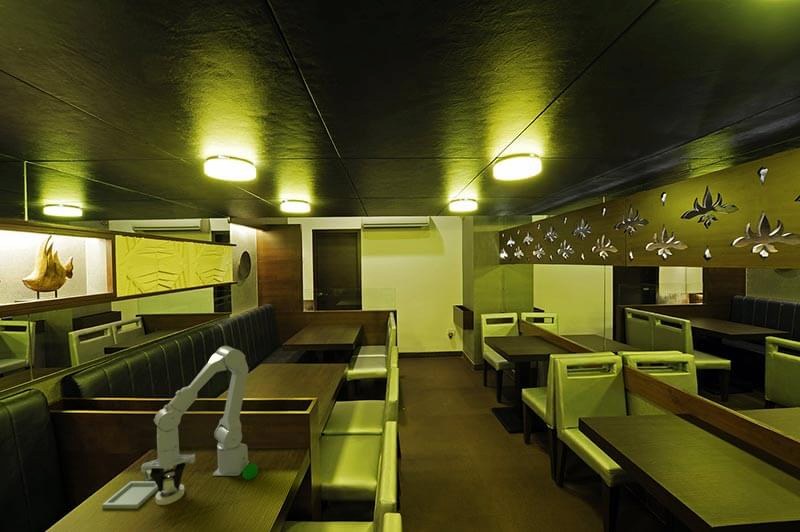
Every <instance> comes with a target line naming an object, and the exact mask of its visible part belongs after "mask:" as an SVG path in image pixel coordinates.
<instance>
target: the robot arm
mask: <svg viewBox="0 0 800 532" xmlns="http://www.w3.org/2000/svg"><path fill="white" fill-rule="evenodd" d="M227 370H229V371H230V372H231V377H230V382H229V387H228V392H227V397H226V402H225V406H224V412H223V416H222V418H220V419H219V423H218V425H217V427H216V429H215V430H214V432H213V433H214V438H215V439H216V441H217V445H216V447H217V449H216V450H217V469H216V470H215V471H214V472H213V474H212V476H213V477H217V476H219V477H221V476H223V477H224V476H226V477H227V476H228V477H229V476H231V477H232V476H236V477H237V476H240V475H241V474H242V471H243V469H244V467H245V466H246V465H248V464H249V463H250V461H249V455H248V454H249V451H248V450H249V449H248V448H249V447H248V445H247V444H246V443H241V442H242V440H243V433H242V423H241V421H240V420H241V419H240V417H241V411H242V406H243V399H244V395H245V390H246V385H247V380H248V374H249V366H248V363H247V360H246V355H245V354H244V353H243V352H242V351H241V350H239V349H235V348H233V347H231V346H229V345H223V346H221V347H219V348H218V349H217V350H216V352H214V353H213V354H212V355H211V356H210V358H209V360H208V362H207V363H206V364H205V365H204V366H203V368H202V369H201V370H200V372H199V373H198V374H197V376H196V377H195V378H194V379H193V380H192V381H191V383H190V384H189V385H188V386H184V387H182V388H181V389H180V390H179V389H178V390H177V391H176V392H175V396H174V397H173V398H172V399H171V400H170V401H169V403H167V404H165V405H164V406H163V408H162V409H160V410H158V412H157V413H156V414H155V416H154V418H153V422H154V424H155V425H156V426H157V427H156V447H157V449H156V450H157V459H154V460H151V461H148V462H143V463H142V465H141V466H140V471H141V473H142V472H145V471H147V470H151V473H150V477H151V478H152V479H151V480H152V481H155V482H156V484H157V486H158V492H162V477H163V476H164V475H165V474H164V473H165V472H164V468H168V467H171V466H175V468H173V469H174V470H173V472H175V477H176V489H177V488H179V486H180V484H182V483H181V481H182V477H183V474H184V471H185V467H186V465H187V464H194V463H195V461H196V453H193V454H180V443H179V442H180V440H179V428H178V427H179V425H180V424H181V420H182V416H183V415H184V414H185V412H187V410H188V409H189V407H191V405H192V404H193V403H194V402H195V401H196V400H197V398H198V392H199V391H200V390H201V389H202V388H203V386H205V385H206V383H208V381H209V380H210V379H211V378H212V377H213V376H214V375H215V374H216V373H219V372H223V371H227Z"/></svg>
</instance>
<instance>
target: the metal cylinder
mask: <svg viewBox="0 0 800 532" xmlns="http://www.w3.org/2000/svg"><path fill="white" fill-rule="evenodd" d="M162 490H163V496H162V497H169V496H172V495H174V494H176V493H177V492H178V488H177V489H176V477H175V472H174V471H169V472H167V473H166V474H164V476H163V477H162Z"/></svg>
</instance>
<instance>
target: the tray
mask: <svg viewBox="0 0 800 532" xmlns="http://www.w3.org/2000/svg"><path fill="white" fill-rule="evenodd" d="M158 491H159V489H158V486H157V484H156V482H155V481H154V480H148V481H146V480H145V481H143V480H140V481H139V480H134V481H133V480H131V481H129V482H128V483H126V485H124V486H123V487H122V488H121V489H119V490H118V491H117V492H115V493H114V494H113V495H112V496H111V497H109V498H108V499H107V500H105V502H103V503H102V504H101V509H102V510H138V509H139V508H140V507H142V505H143V504H145V502H147V500H148V499H150V498H151V497H152V496H153V495H154V494H156V492H158Z"/></svg>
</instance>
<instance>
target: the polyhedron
mask: <svg viewBox="0 0 800 532" xmlns="http://www.w3.org/2000/svg"><path fill="white" fill-rule="evenodd" d="M258 472H259V468H258V465H257V464H255V463H252V462H251V463H250V462H249V463H248V465H246V466H245V467H244V469H243V471H242V472H241V474H242V478H244V479H245V480H253V479H254V478H255V477H256V476H257V475H258Z"/></svg>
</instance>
